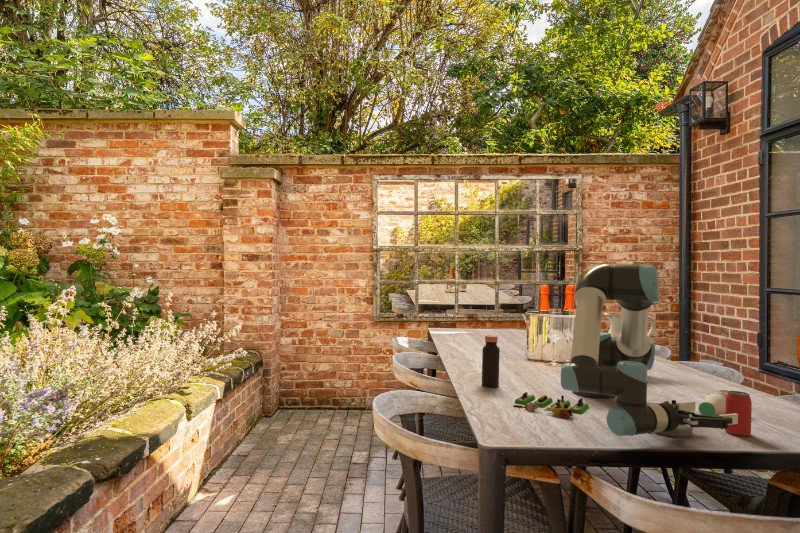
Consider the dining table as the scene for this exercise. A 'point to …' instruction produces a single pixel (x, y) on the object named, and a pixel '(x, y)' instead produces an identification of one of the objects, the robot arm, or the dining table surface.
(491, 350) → the vinegar
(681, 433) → the pad
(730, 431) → the beer can
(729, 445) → the dining table surface
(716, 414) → the milk bottle
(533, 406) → the toy garden set
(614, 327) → the pitcher
